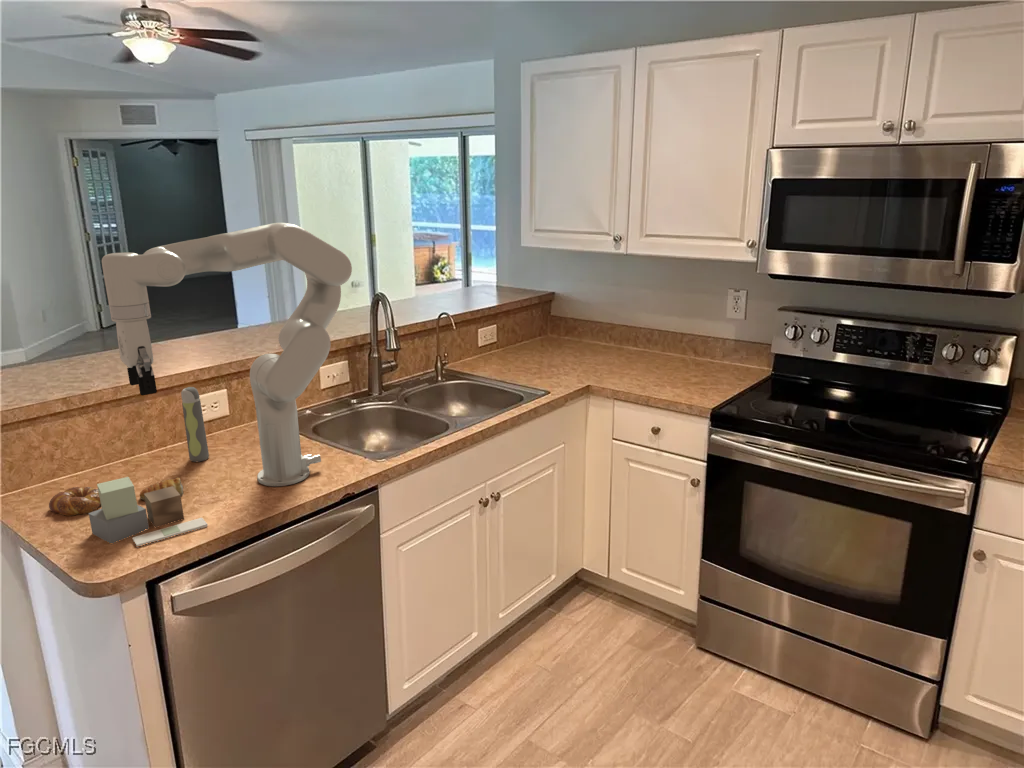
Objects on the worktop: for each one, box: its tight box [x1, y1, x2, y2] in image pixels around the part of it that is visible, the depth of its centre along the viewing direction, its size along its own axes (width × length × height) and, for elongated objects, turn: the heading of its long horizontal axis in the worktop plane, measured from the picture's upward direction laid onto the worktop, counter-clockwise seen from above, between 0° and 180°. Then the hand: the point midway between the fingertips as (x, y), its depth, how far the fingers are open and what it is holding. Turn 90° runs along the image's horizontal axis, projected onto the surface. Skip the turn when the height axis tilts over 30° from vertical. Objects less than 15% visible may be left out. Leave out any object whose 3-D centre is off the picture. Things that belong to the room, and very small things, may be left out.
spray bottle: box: [180, 386, 210, 463], centre depth 187 cm, size 5×5×20 cm
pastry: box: [139, 477, 184, 501], centre depth 168 cm, size 9×7×4 cm
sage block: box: [96, 476, 139, 520], centre depth 149 cm, size 6×6×6 cm
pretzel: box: [48, 486, 101, 517], centre depth 163 cm, size 12×11×4 cm
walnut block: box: [144, 486, 185, 528], centre depth 156 cm, size 6×6×6 cm
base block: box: [88, 504, 150, 544], centre depth 151 cm, size 8×8×5 cm
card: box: [131, 517, 209, 547], centre depth 150 cm, size 14×4×1 cm, turn 129°
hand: (143, 388), depth 155 cm, fingers open, 9 cm apart
